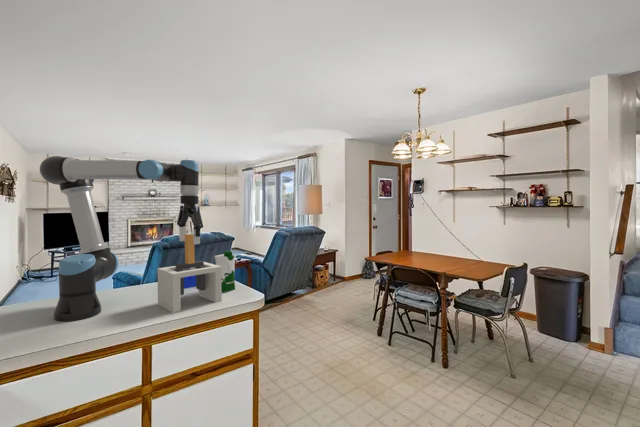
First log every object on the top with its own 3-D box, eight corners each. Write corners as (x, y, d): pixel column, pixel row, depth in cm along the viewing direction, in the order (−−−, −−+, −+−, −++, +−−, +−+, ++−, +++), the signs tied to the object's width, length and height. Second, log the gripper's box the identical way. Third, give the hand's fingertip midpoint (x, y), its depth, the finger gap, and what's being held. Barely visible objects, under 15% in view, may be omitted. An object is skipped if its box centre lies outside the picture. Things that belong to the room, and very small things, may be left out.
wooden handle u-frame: (179, 295, 139) (178, 236, 138) (174, 293, 143) (173, 234, 141) (205, 289, 148) (204, 233, 147) (200, 287, 152) (199, 232, 150)
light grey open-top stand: (173, 312, 132) (173, 274, 131) (157, 304, 143) (157, 268, 142) (221, 300, 148) (221, 266, 148) (204, 293, 159) (204, 261, 158)
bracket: (183, 289, 167) (182, 272, 167) (176, 286, 173) (176, 269, 173) (215, 283, 180) (215, 267, 180) (208, 280, 186) (208, 265, 186)
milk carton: (224, 293, 161) (224, 253, 160) (212, 290, 165) (212, 251, 164) (237, 289, 168) (237, 251, 167) (225, 286, 173) (225, 249, 172)
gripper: (211, 195, 138) (211, 244, 139) (185, 195, 155) (185, 239, 156) (194, 195, 132) (194, 246, 133) (169, 194, 149) (169, 240, 150)
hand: (189, 242), depth 145 cm, fingers open, 13 cm apart
